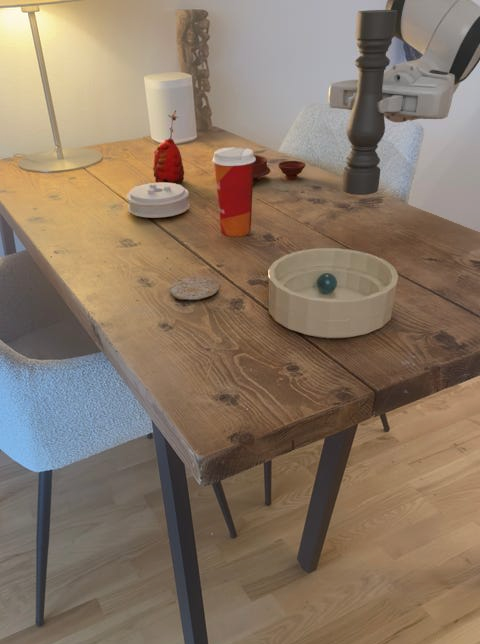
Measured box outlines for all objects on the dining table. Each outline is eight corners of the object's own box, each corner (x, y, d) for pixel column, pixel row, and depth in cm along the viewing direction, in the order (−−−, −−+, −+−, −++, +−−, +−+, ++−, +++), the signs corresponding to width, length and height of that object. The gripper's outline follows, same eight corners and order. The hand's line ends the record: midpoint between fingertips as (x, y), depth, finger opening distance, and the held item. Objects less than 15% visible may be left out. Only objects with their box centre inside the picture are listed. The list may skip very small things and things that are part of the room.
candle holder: (378, 184, 100) (398, 9, 84) (378, 195, 95) (399, 11, 79) (342, 183, 101) (356, 10, 85) (341, 194, 96) (355, 13, 80)
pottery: (219, 174, 138) (218, 154, 135) (300, 170, 139) (301, 151, 136) (222, 188, 129) (221, 167, 126) (308, 184, 130) (309, 164, 127)
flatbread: (183, 277, 91) (183, 271, 91) (227, 284, 89) (226, 278, 88) (160, 299, 85) (159, 293, 85) (206, 306, 83) (205, 300, 82)
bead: (334, 288, 86) (336, 269, 84) (337, 297, 83) (339, 278, 81) (315, 288, 86) (316, 269, 84) (316, 297, 83) (318, 278, 81)
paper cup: (227, 222, 111) (224, 144, 103) (262, 227, 109) (262, 148, 100) (208, 235, 106) (203, 155, 97) (244, 241, 103) (243, 159, 94)
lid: (200, 214, 115) (198, 189, 112) (143, 226, 110) (139, 200, 107) (173, 198, 124) (171, 174, 121) (119, 209, 119) (116, 184, 116)
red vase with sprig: (156, 178, 136) (148, 108, 127) (185, 177, 136) (180, 107, 127) (153, 187, 130) (145, 114, 121) (184, 186, 130) (178, 113, 121)
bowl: (379, 284, 88) (384, 246, 84) (403, 342, 74) (411, 300, 71) (266, 286, 88) (266, 249, 85) (270, 343, 75) (270, 302, 71)
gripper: (352, 67, 101) (310, 78, 93) (464, 74, 90) (428, 87, 82) (349, 107, 105) (308, 121, 96) (456, 118, 94) (420, 134, 86)
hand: (364, 105), depth 89 cm, fingers closed on candle holder, 3 cm apart
